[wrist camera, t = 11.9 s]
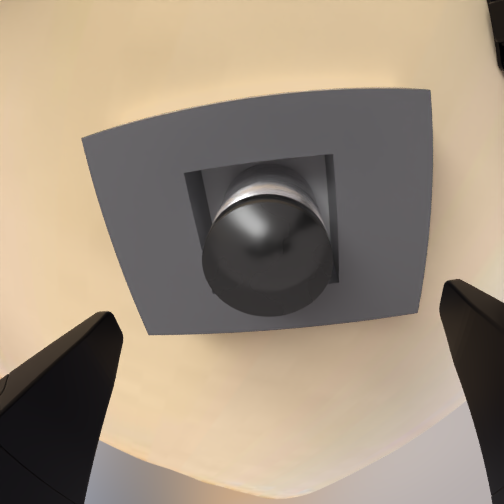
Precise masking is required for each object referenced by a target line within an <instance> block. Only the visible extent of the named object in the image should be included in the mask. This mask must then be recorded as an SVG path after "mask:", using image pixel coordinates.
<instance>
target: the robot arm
mask: <svg viewBox="0 0 504 504" xmlns="http://www.w3.org/2000/svg"><path fill="white" fill-rule="evenodd" d="M487 2H488V6H489V11H490V16H491V21H492V27H493V33H494V39H495V46H496V53H497V62H498V66H499V68H500V69H501V70H502V71H504V0H487ZM439 312H440V317H441V320H442V323H443V327H444V330H445V333H446V337H447V341H448V344H449V348H450V352H451V355H452V359H453V362H454V365H455V368H456V371H457V374H458V376H459V379H460V382H461V385H462V388H463V391H464V394H465V397H466V400H467V403H468V406H469V409H470V412H471V415H472V419H473V422H474V426H475V429H476V432H477V436H478V439H479V444H480V447H481V451H482V455H483V459H484V464H485V468H486V472H487V477H488V481H489V486H490V492H491V495H492V497H491V498H492V504H504V303H503V302H501V301H499V300H497V299H496V298H494V297H492V296H490V295H488V294H487V293H485V292H483V291H481V290H479V289H477V288H475V287H474V286H472V285H470V284H468V283H466V282H464V281H462V280H460V279H455V280H448V281H446V282H445V284H444V287H443V292H442V297H441V302H440V307H439ZM122 344H123V334H122V331H121V329H120V327H119V325H118V323H117V321H116V319H115V317H114V315H113V314H112V313H111V312H109V311H102V312H97V313H95V314H94V315H92V316H91V317H89V318H88V319H86V320H85V321H83V322H82V323H81V324H79V325H78V326H76V327H75V328H73V329H72V330H70V331H69V332H67V333H66V334H64V335H63V336H61V337H60V338H59V339H57V340H56V341H54V342H53V343H51V344H50V345H48V346H47V347H46V348H44V349H43V350H41V351H40V352H38V353H37V354H36V355H34V356H33V357H31V358H30V359H28V360H27V361H26V362H24V363H23V364H21V365H20V366H19V367H17V368H16V369H14V370H13V371H12V372H10V373H9V374H7V375H6V376H4V377H3V378H2V379H0V504H84V501H85V496H86V492H87V487H88V482H89V477H90V474H91V469H92V465H93V461H94V456H95V452H96V449H97V445H98V441H99V437H100V433H101V429H102V426H103V422H104V418H105V415H106V411H107V408H108V404H109V401H110V397H111V394H112V390H113V387H114V382H115V378H116V373H117V368H118V363H119V358H120V353H121V349H122Z"/></svg>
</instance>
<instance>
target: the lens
mask: <svg viewBox="0 0 504 504" xmlns="http://www.w3.org/2000/svg"><path fill="white" fill-rule="evenodd" d="M202 267H203V272H204V275H205V278H206V280H207V282H208V284H209V286H210V287H211V289H212V290H213V292H214V293H215V294H216V295H217V296H218V297H219V298H220V299H221V300H222V301H223V302H225V303H226V304H227V305H229V306H230V307H232V308H234V309H236V310H238V311H241V312H243V313H246V314H250V315H255V316H262V317H276V316H282V315H287V314H291V313H293V312H296V311H298V310H300V309H302V308H304V307H306V306H307V305H309V304H311V303H312V302H313V301H314V300H315V299H317V298H318V296H319V295H320V294H321V293H322V292H323V290H324V289H325V288H326V286H327V284H328V282H329V280H330V277H331V274H332V270H333V251H332V247H331V244H330V240H329V237H328V234H327V231H326V228H325V225H324V222H323V219H322V216H321V214H320V211H319V208H318V205H317V202H316V199H315V196H314V193H313V191H312V189H311V187H310V185H309V184H308V182H307V181H306V180H305V178H304V177H303V176H302V175H300V174H299V173H298V172H296V171H295V170H293V169H291V168H289V167H287V166H284V165H281V164H275V163H263V164H258V165H254V166H251V167H249V168H247V169H245V170H244V171H242V172H241V173H239V174H238V175H237V176H236V177H235V178H234V179H233V180H232V182H231V183H230V185H229V186H228V189H227V191H226V193H225V195H224V198H223V200H222V202H221V205H220V207H219V209H218V212H217V214H216V217H215V219H214V221H213V224H212V226H211V229H210V231H209V233H208V236H207V238H206V241H205V243H204V247H203V252H202Z"/></svg>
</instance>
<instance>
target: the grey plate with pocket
mask: <svg viewBox="0 0 504 504" xmlns="http://www.w3.org/2000/svg"><path fill="white" fill-rule="evenodd" d="M82 143H83V147H84V151H85V155H86V159H87V162H88V166H89V170H90V174H91V177H92V181H93V184H94V188H95V191H96V195H97V198H98V201H99V205H100V208H101V211H102V214H103V217H104V220H105V223H106V226H107V229H108V232H109V235H110V238H111V241H112V244H113V247H114V250H115V253H116V255H117V258H118V261H119V264H120V266H121V269H122V272H123V274H124V277H125V280H126V282H127V285H128V287H129V290H130V292H131V295H132V297H133V300H134V302H135V305H136V307H137V309H138V312H139V314H140V316H141V319H142V321H143V323H144V326H145V328H146V330H147V333H148V335H185V334H213V333H234V332H250V331H265V330H278V329H290V328H302V327H312V326H322V325H331V324H340V323H349V322H357V321H365V320H373V319H380V318H387V317H394V316H401V315H407V314H414V313H418V308H419V302H420V297H421V291H422V284H423V278H424V271H425V264H426V256H427V247H428V238H429V227H430V215H431V200H432V177H433V129H432V107H431V92H430V90H426V89H412V88H391V87H373V88H339V89H322V90H308V91H297V92H287V93H278V94H269V95H261V96H254V97H247V98H240V99H234V100H228V101H222V102H216V103H211V104H206V105H201V106H196V107H191V108H186V109H181V110H177V111H172V112H168V113H164V114H160V115H156V116H152V117H148V118H144V119H140V120H136V121H133V122H129V123H125V124H122V125H119V126H115V127H112V128H109V129H106V130H103V131H100V132H97V133H95V134H92V135H89V136H86V137H83V138H82ZM263 163H275V164H281V165H284V166H287V167H289V168H291V169H293V170H295V171H296V172H298V173H299V174H300V175H302V176H303V177H304V178H305V180H306V181H307V182H308V184H309V185H310V187H311V189H312V191H313V193H314V196H315V199H316V202H317V205H318V208H319V211H320V214H321V216H322V219H323V222H324V225H325V228H326V231H327V234H328V237H329V240H330V244H331V247H332V251H333V270H332V274H331V277H330V280H329V282H328V284H327V286H326V288H325V289H324V290H323V292H322V293H321V294H320V295H319V296H318V298H317V299H315V300H314V301H313V302H312V303H311V304H309V305H307V306H306V307H304V308H302V309H300V310H298V311H296V312H293V313H291V314H287V315H282V316H276V317H262V316H255V315H250V314H246V313H243V312H241V311H238V310H236V309H234V308H232V307H230V306H229V305H227V304H226V303H225V302H223V301H222V300H221V299H220V298H219V297H218V296H217V295H216V294H215V293H214V292H213V290H212V289H211V287H210V286H209V284H208V282H207V280H206V278H205V275H204V272H203V267H202V252H203V247H204V243H205V241H206V238H207V236H208V233H209V231H210V229H211V226H212V224H213V221H214V219H215V217H216V214H217V212H218V209H219V207H220V205H221V202H222V200H223V198H224V195H225V193H226V191H227V189H228V186H229V185H230V183H231V182H232V180H233V179H234V178H235V177H236V176H237V175H238V174H239V173H241V172H242V171H244V170H245V169H247V168H249V167H251V166H254V165H258V164H263Z"/></svg>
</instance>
